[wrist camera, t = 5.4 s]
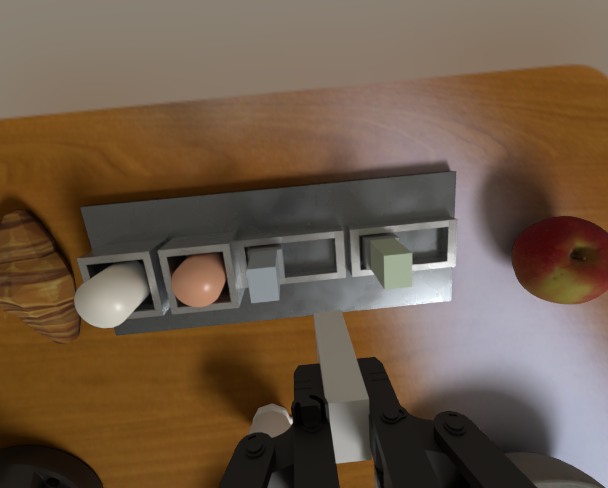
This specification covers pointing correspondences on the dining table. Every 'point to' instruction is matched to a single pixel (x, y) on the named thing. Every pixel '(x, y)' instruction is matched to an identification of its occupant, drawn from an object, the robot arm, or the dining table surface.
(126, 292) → the button cream
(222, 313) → the panel
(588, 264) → the apple
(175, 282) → the button terracotta
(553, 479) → the bowl
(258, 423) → the cup
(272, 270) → the block
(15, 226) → the croissant
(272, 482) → the robot arm
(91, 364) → the dining table surface
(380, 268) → the slider sage
